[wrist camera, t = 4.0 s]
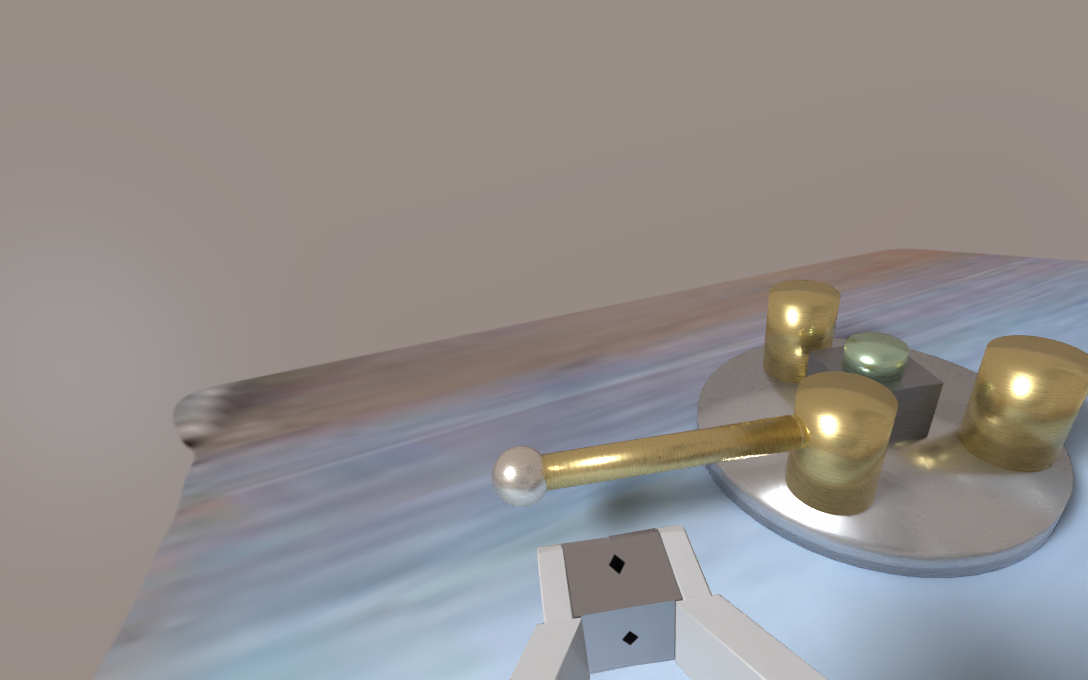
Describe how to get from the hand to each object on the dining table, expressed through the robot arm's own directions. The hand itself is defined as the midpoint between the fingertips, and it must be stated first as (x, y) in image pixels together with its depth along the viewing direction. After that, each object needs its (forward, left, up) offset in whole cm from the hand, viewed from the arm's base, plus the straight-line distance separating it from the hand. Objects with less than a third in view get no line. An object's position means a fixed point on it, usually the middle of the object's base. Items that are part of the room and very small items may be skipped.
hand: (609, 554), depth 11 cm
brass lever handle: (-6, -13, -14) cm, 20 cm away
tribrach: (-19, -18, -16) cm, 31 cm away
